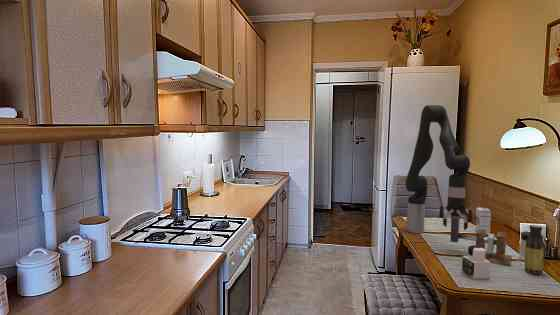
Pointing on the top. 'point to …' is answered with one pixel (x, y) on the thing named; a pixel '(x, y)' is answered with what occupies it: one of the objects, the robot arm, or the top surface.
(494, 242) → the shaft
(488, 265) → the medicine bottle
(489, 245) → the spacer
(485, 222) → the syrup box
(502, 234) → the bearing stand
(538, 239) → the sauce bottle
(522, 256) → the jar
